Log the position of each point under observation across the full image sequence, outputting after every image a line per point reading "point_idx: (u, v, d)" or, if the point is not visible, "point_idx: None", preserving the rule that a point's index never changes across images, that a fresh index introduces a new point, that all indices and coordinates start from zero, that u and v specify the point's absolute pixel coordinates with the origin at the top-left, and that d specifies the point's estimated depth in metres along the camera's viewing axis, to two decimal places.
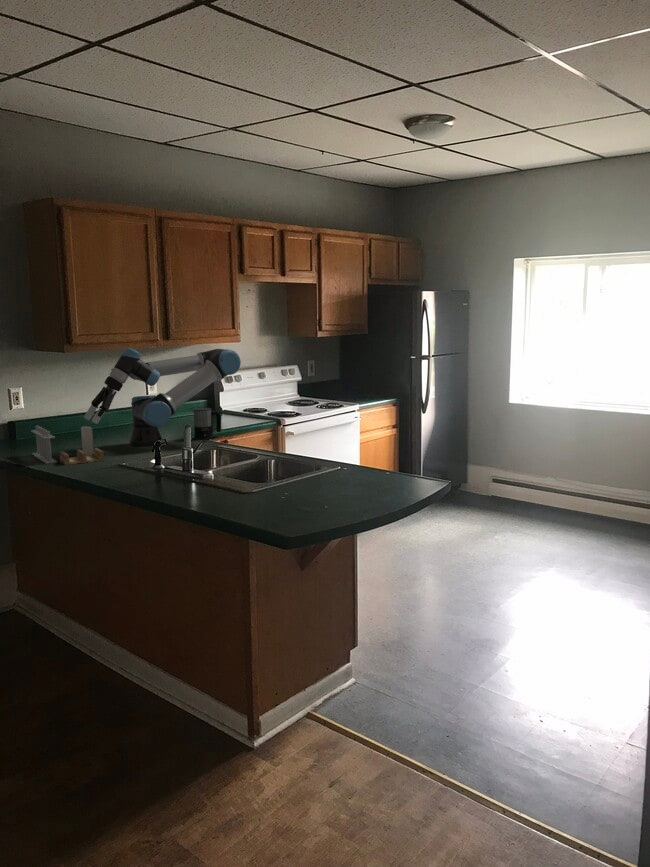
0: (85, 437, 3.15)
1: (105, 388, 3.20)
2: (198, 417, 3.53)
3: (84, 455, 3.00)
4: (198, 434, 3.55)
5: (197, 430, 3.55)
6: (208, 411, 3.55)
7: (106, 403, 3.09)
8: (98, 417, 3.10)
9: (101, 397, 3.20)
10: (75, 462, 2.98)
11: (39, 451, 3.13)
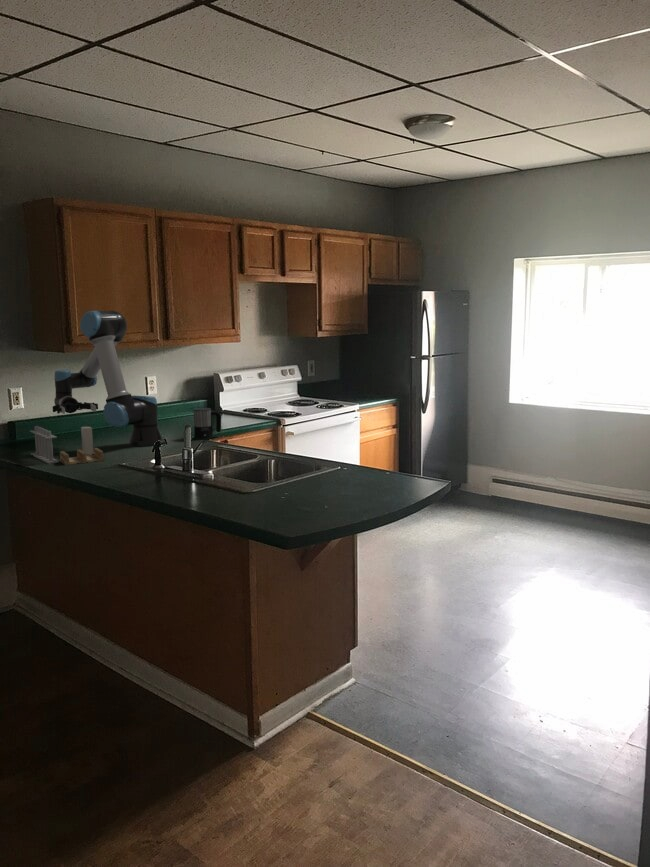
0: (85, 437, 3.15)
1: None
2: (198, 417, 3.54)
3: (84, 455, 3.00)
4: (197, 434, 3.55)
5: (197, 430, 3.55)
6: (208, 411, 3.55)
7: None
8: (61, 409, 3.23)
9: (81, 407, 3.36)
10: (75, 462, 2.98)
11: (39, 451, 3.13)
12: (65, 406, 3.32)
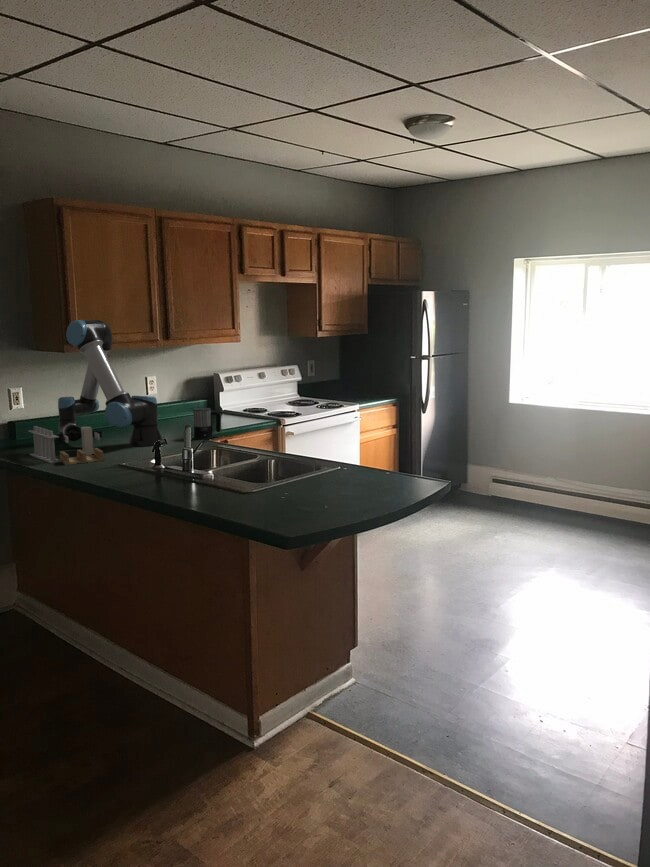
0: (85, 437, 3.15)
1: None
2: (198, 417, 3.54)
3: (84, 455, 3.00)
4: (197, 434, 3.56)
5: (197, 430, 3.55)
6: (208, 411, 3.55)
7: None
8: (65, 438, 3.20)
9: None
10: (75, 462, 2.98)
11: (38, 451, 3.13)
12: (69, 434, 3.28)
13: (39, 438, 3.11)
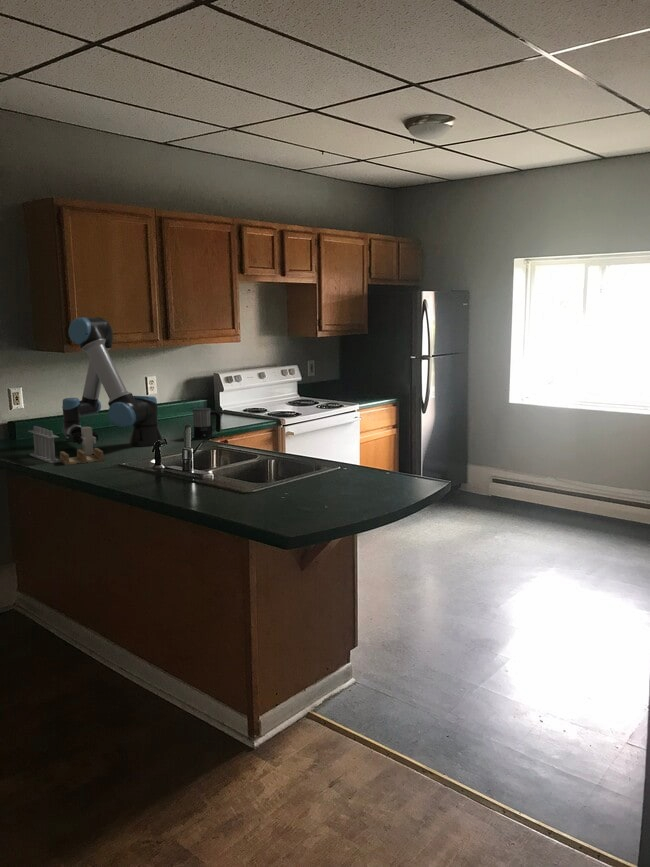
0: (85, 437, 3.15)
1: None
2: (198, 417, 3.54)
3: (84, 455, 3.00)
4: (197, 434, 3.56)
5: (197, 430, 3.56)
6: (207, 411, 3.55)
7: (72, 440, 3.19)
8: (82, 440, 3.15)
9: None
10: (75, 462, 2.98)
11: (38, 451, 3.13)
12: None
13: (39, 438, 3.11)
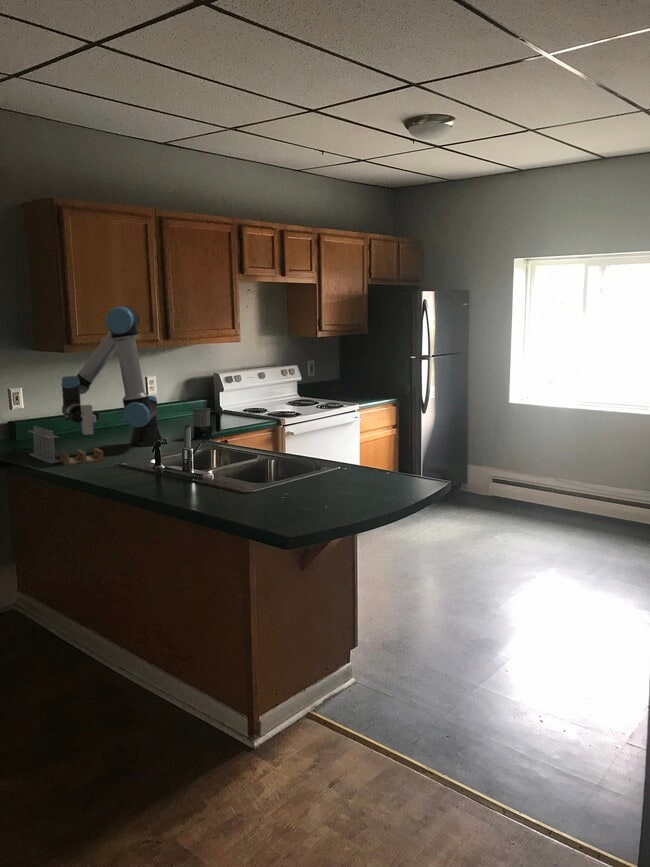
0: (85, 415, 3.01)
1: None
2: (197, 417, 3.54)
3: (84, 455, 3.00)
4: (197, 434, 3.56)
5: (196, 430, 3.56)
6: (207, 411, 3.55)
7: (71, 419, 3.04)
8: (82, 418, 3.00)
9: None
10: (75, 462, 2.98)
11: (38, 451, 3.13)
12: None
13: (39, 438, 3.11)
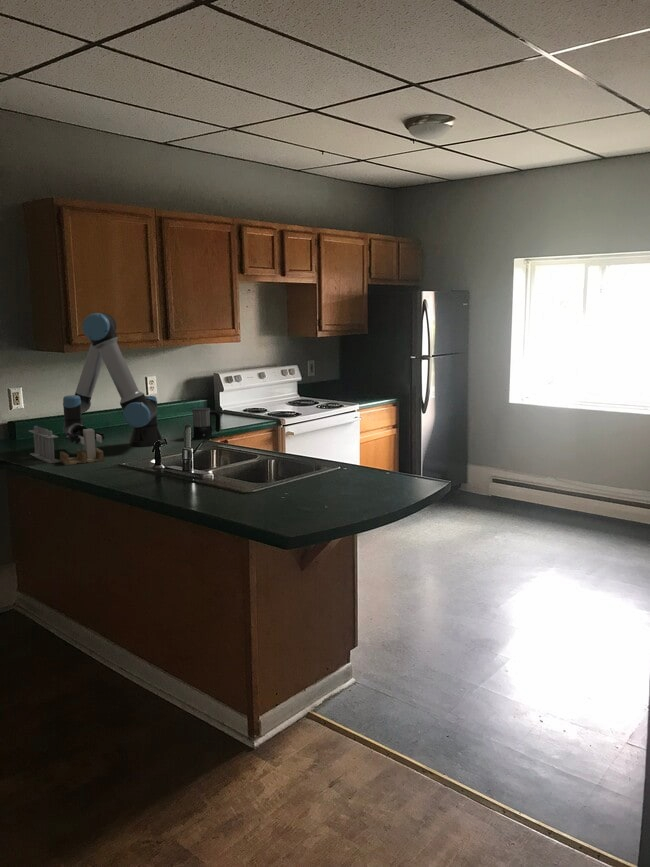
0: (87, 440, 3.02)
1: None
2: (197, 417, 3.54)
3: (84, 455, 3.00)
4: (196, 434, 3.56)
5: (196, 430, 3.56)
6: (207, 411, 3.56)
7: (70, 440, 3.05)
8: (80, 439, 3.01)
9: None
10: (75, 462, 2.98)
11: (38, 451, 3.13)
12: (79, 435, 3.09)
13: (39, 438, 3.12)
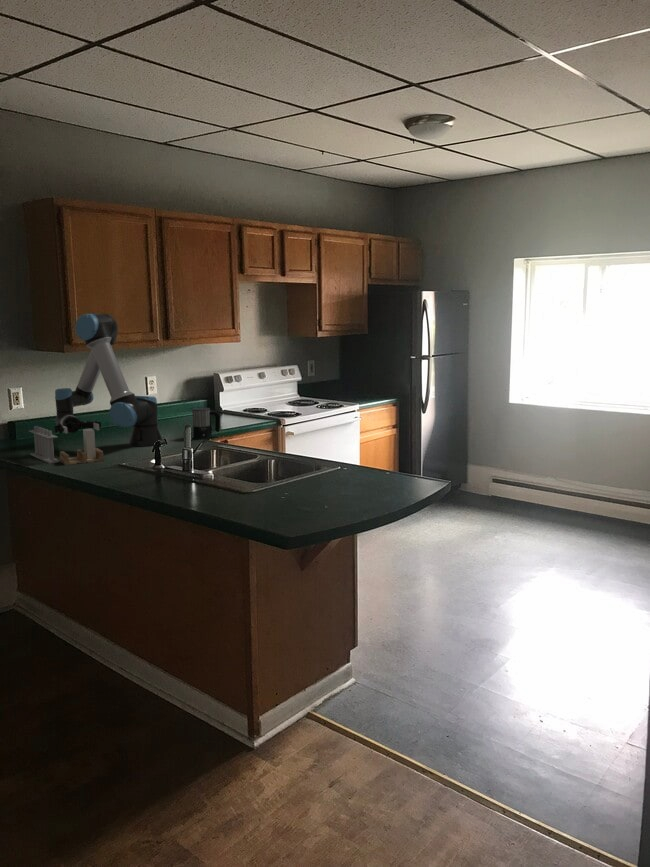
0: (87, 440, 3.02)
1: None
2: (197, 417, 3.54)
3: (84, 455, 3.00)
4: (196, 434, 3.56)
5: (196, 430, 3.56)
6: (207, 411, 3.56)
7: None
8: (64, 429, 3.13)
9: (83, 426, 3.26)
10: (75, 462, 2.98)
11: (38, 451, 3.13)
12: (67, 425, 3.22)
13: (39, 438, 3.12)
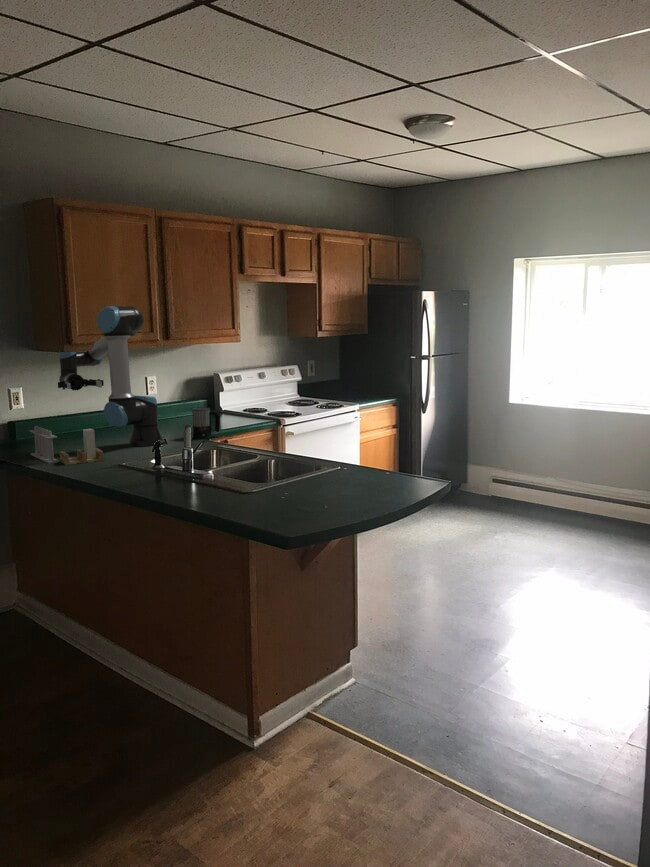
0: (87, 440, 3.02)
1: None
2: (197, 416, 3.55)
3: (84, 455, 3.00)
4: (196, 434, 3.56)
5: (196, 430, 3.56)
6: (206, 411, 3.56)
7: None
8: (67, 385, 3.19)
9: (86, 383, 3.32)
10: (75, 462, 2.98)
11: (39, 451, 3.13)
12: (70, 382, 3.27)
13: (39, 438, 3.12)
